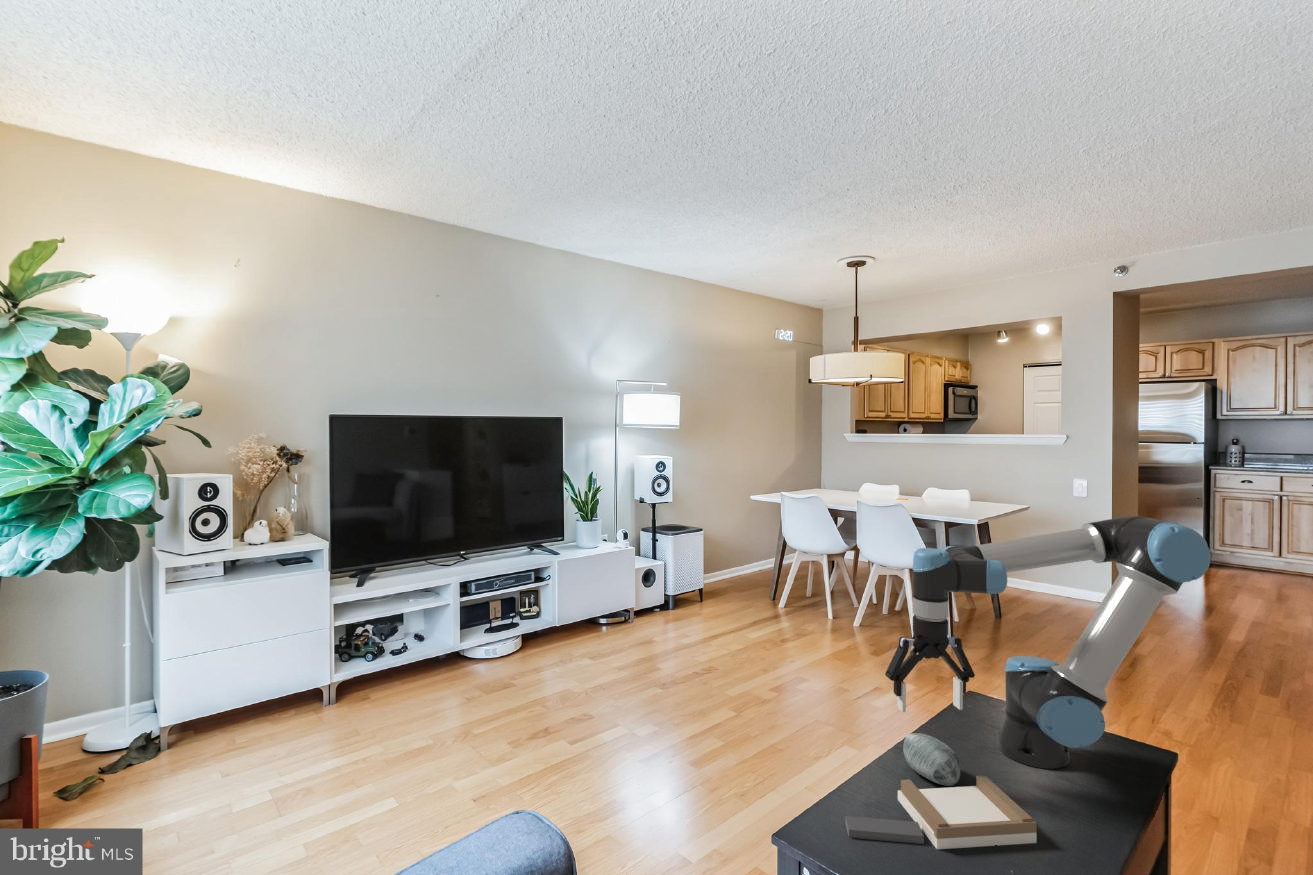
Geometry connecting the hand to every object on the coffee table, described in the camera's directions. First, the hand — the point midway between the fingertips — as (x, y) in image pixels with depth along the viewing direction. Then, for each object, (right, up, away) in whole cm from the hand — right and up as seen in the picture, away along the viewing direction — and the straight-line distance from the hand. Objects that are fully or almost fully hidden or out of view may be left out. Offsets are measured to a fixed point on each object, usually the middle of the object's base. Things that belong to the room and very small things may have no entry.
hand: (929, 708), depth 144 cm
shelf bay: (0, -16, -16) cm, 23 cm away
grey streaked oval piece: (0, -16, 0) cm, 16 cm away
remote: (-18, -16, -20) cm, 32 cm away
